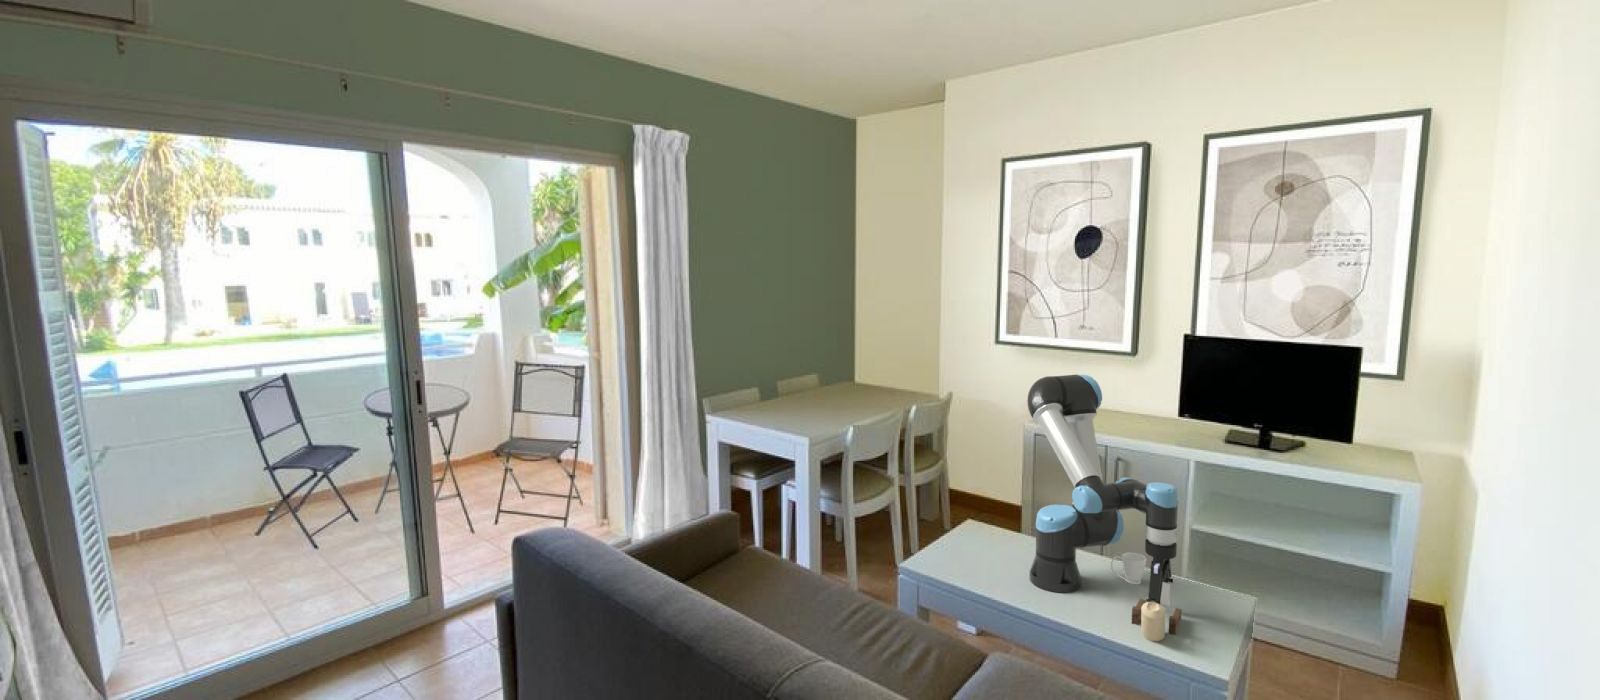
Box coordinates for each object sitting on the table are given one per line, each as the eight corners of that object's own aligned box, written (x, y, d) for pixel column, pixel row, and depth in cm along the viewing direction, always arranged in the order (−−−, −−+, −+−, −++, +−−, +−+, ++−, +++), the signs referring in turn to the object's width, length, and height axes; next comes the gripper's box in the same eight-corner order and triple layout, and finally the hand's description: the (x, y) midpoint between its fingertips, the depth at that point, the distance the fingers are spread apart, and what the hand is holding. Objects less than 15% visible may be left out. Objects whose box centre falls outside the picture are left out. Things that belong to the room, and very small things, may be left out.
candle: (1167, 641, 174) (1168, 614, 169) (1144, 642, 175) (1145, 615, 170) (1160, 624, 178) (1161, 597, 174) (1138, 624, 180) (1138, 598, 175)
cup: (1144, 588, 203) (1145, 563, 202) (1108, 580, 208) (1109, 556, 208) (1147, 579, 209) (1148, 554, 208) (1112, 572, 214) (1113, 548, 213)
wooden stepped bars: (1131, 623, 183) (1132, 608, 183) (1139, 608, 191) (1140, 593, 191) (1174, 635, 177) (1175, 619, 177) (1181, 619, 185) (1181, 604, 184)
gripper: (1168, 560, 170) (1166, 639, 172) (1183, 528, 189) (1182, 599, 191) (1135, 553, 174) (1134, 630, 177) (1154, 523, 194) (1153, 592, 196)
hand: (1159, 614), depth 184 cm, fingers open, 13 cm apart
